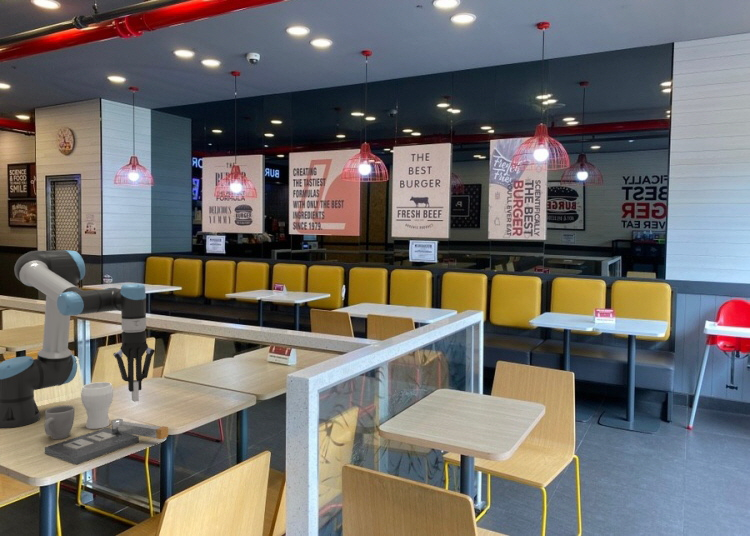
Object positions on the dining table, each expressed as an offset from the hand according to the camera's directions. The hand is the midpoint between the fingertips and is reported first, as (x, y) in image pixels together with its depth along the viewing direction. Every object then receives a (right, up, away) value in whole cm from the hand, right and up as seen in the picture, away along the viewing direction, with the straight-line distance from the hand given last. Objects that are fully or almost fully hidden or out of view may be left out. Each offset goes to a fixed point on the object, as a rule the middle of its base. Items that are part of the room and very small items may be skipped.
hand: (135, 400), depth 190 cm
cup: (-21, -14, +18) cm, 31 cm away
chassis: (-12, -15, -3) cm, 20 cm away
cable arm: (0, -12, +3) cm, 12 cm away
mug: (-29, -14, +5) cm, 33 cm away
